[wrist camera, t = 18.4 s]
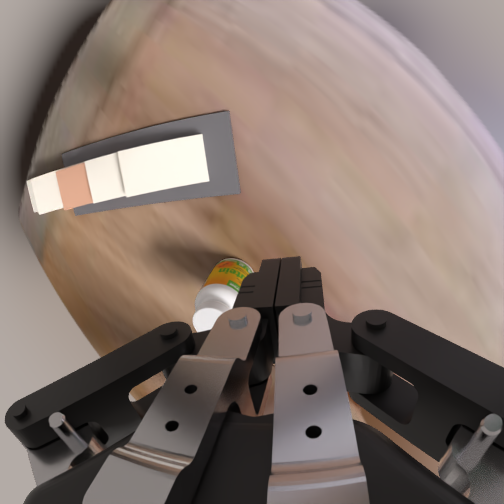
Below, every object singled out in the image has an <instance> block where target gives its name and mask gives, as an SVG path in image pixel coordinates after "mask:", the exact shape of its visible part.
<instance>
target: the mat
mask: <svg viewBox="0 0 504 504" xmlns="http://www.w3.org/2000/svg"><path fill="white" fill-rule="evenodd" d="M199 134H202V135H203V142H204V149H205V156H206V162H207V169H208V175H209V181H207V182H201V183H196V184H190V185H185V186H180V187H174V188H169V189H164V190H159V191H154V192H149V193H145V194H140V195H135V196H131V197H126V196H123V197H119V198H114V199H110V200H106V201H102V202H98V203H90V204H86V205H83V206H79V207H75V208H73V209H74V213H75V216H77V215H82V214H88V213H94V212H100V211H106V210H113V209H119V208H126V207H133V206H140V205H147V204H154V203H162V202H169V201H177V200H186V199H194V198H203V197H212V196H222V195H232V194H240V193H241V191H240V184H239V177H238V170H237V163H236V155H235V148H234V141H233V134H232V127H231V120H230V113H229V111H225V112H219V113H213V114H208V115H202V116H197V117H192V118H187V119H182V120H178V121H173V122H169V123H164V124H160V125H156V126H152V127H148V128H144V129H140V130H136V131H133V132H129V133H125V134H122V135H118V136H115V137H112V138H108V139H105V140H102V141H99V142H96V143H92V144H89V145H86V146H83V147H80V148H78V149H75V150H72V151H69V152H66V153H64V154H62V159H63V164H64V168H65V167H68V166H71V165H75V164H78V163H81V162H85V161H88V160H91V159H95V158H98V157H102V156H106V155H109V154H113V153H117V152H118V151H122V150H126V149H131V148H135V147H139V146H143V145H148V144H152V143H157V142H162V141H167V140H172V139H177V138H182V137H188V136H193V135H199Z"/></svg>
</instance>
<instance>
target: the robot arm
mask: <svg viewBox="0 0 504 504" xmlns="http://www.w3.org/2000/svg"><path fill="white" fill-rule="evenodd" d="M273 364H275V366H273ZM161 371H162V372H163V374H164V376H165V378H166V381H165V383H164V385H163V386H161V387H160V388H158V389H156V390H155V391H153V392H151V393H150V394H148V395H146V396H145V397H143V398H141V399H140V400H138V401H135V402H130V400H129V397H128V396H129V392H130V391H131V389H132V388H133V387H135V386H137V385H138V384H140V383H142V382H144V381H145V380H147V379H149V378H150V377H152V376H154V375H156V374H157V373H159V372H161ZM393 372H394V373H395V374H397V375H399V376H400V377H402V378H404V379H405V380H407V381H408V382H410V383H411V384H413V385H414V386H413V385H411V384H409V383H408V382H406V381H404V380H403V379H401V378H400V377H398V376H396V375H395V374H393ZM347 391H349V395H350V397H351V398H352V400H354V401H355V402H356V403H357V404H359V405H360V406H361V407H363V408H364V409H365V410H367V411H368V412H369V413H371V414H372V415H373V416H375V417H376V418H378V419H379V420H380V421H381V422H383V423H384V424H386V425H387V426H388V427H390V428H391V429H392V430H394V431H395V432H396V433H398V434H399V435H401V436H402V437H403V438H405V439H406V440H408V441H409V442H410V443H412V444H413V445H415V446H416V447H418V448H419V449H421V450H422V451H423V452H425V453H426V454H428V455H429V456H431V457H432V458H434V459H435V460H437V461H438V462H439V466H438V472H439V476H440V478H439V477H438V476H436V475H435V474H434V473H433V472H431V471H430V470H428V469H427V468H426V467H425V466H423V465H422V464H421V463H419V462H418V461H417V460H415V459H414V458H413V457H412V456H410V455H409V454H408V453H407V452H405V451H404V450H403V449H402V448H400V447H399V446H398V445H396V444H395V443H394V442H393V441H392V440H390V439H389V438H388V437H387V436H385V435H384V434H383V433H381V432H380V431H378V430H377V429H375V428H373V427H372V426H370V425H367V424H365V423H363V422H360V421H357V420H353V419H352V415H351V409H350V404H349V399H348V395H347ZM5 424H6V426H7V427H8V428H9V429H10V430H11V432H12V433H13V434H14V435H15V436H16V437H17V438H18V439H19V441H20V442H21V443H22V445H23V446H24V447H25V448H26V449H27V452H28V456H29V460H30V464H31V468H32V471H33V475H34V478H35V481H36V485H37V487H36V488H35V489H33V490H32V491H31V492H30V493H29V495H28V496H27V498H26V499H25V501H24V503H23V504H504V368H503V367H501V366H499V365H497V364H495V363H493V362H491V361H489V360H487V359H485V358H483V357H481V356H479V355H477V354H475V353H473V352H471V351H469V350H466V349H464V348H462V347H460V346H458V345H456V344H454V343H452V342H450V341H448V340H446V339H444V338H442V337H440V336H438V335H436V334H434V333H432V332H430V331H428V330H426V329H423V328H421V327H419V326H417V325H415V324H413V323H411V322H409V321H407V320H405V319H403V318H401V317H399V316H397V315H395V314H393V313H390V312H388V311H384V310H368V311H365V312H362V313H360V314H358V315H357V316H356V317H355V318H354V319H353V321H352V323H348V322H341V321H337V320H335V319H333V318H331V317H329V316H328V315H327V314H326V312H325V309H324V299H323V289H322V280H321V273H320V272H319V271H318V270H317V269H316V268H315V267H310V268H302V264H301V257H300V256H298V257H287V258H282V260H281V258H277V259H267V260H262V263H261V267H260V270H259V272H255V273H250V274H249V275H247V276H246V277H245V278H244V279H243V281H242V283H241V286H240V289H239V292H238V294H237V297H236V300H235V302H234V305H233V308H232V309H230V310H228V311H226V312H224V313H222V314H221V315H220V316H219V317H218V318H217V320H216V322H215V323H214V325H213V327H212V329H210V330H206V331H201V332H197V333H192V331H191V328H190V326H189V325H188V324H186V323H184V322H170V323H166V324H163V325H161V326H159V327H157V328H155V329H154V330H152V331H150V332H148V333H146V334H144V335H142V336H141V337H139V338H137V339H135V340H133V341H131V342H129V343H128V344H126V345H124V346H122V347H120V348H118V349H116V350H114V351H113V352H111V353H109V354H107V355H105V356H103V357H101V358H100V359H98V360H96V361H94V362H92V363H90V364H88V365H86V366H84V367H82V368H80V369H78V370H77V371H75V372H73V373H71V374H69V375H67V376H65V377H63V378H61V379H59V380H57V381H55V382H53V383H52V384H49V385H48V386H46V387H44V388H42V389H40V390H38V391H36V392H34V393H32V394H30V395H28V396H26V397H24V398H22V399H20V400H18V401H17V402H15V403H14V404H13V405H12V406H11V407H10V408H9V409H8V411H7V413H6V416H5Z"/></svg>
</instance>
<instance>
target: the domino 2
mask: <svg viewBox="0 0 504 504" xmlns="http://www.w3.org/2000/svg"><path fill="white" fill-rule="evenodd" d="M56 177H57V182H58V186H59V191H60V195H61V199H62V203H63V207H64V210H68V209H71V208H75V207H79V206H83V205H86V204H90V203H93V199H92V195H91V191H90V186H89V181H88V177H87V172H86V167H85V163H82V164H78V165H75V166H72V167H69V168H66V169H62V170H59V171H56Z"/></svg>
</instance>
